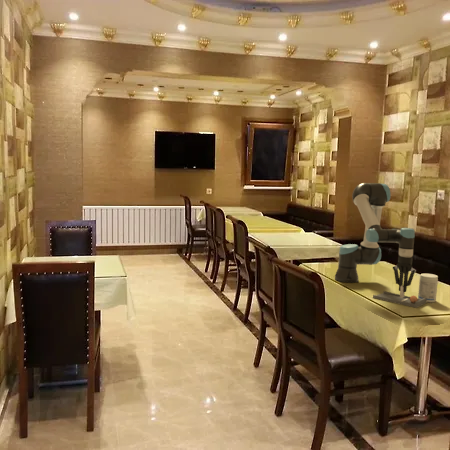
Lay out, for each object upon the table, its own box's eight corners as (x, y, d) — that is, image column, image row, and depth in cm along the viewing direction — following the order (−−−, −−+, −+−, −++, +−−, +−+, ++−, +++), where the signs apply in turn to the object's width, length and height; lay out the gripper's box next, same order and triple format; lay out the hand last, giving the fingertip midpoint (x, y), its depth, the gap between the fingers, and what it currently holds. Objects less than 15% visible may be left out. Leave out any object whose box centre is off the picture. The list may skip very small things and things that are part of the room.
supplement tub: (421, 297, 279) (423, 272, 277) (438, 300, 272) (440, 275, 270) (415, 300, 272) (417, 274, 270) (432, 303, 265) (434, 278, 263)
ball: (412, 294, 262) (416, 301, 260) (415, 293, 265) (420, 299, 263) (406, 298, 265) (411, 304, 263) (410, 297, 267) (414, 303, 266)
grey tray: (372, 297, 273) (373, 292, 273) (383, 293, 283) (383, 288, 283) (416, 307, 256) (416, 302, 256) (426, 303, 266) (426, 297, 266)
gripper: (391, 254, 267) (387, 295, 270) (414, 258, 258) (410, 300, 261) (397, 253, 273) (393, 293, 276) (419, 257, 264) (416, 298, 267)
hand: (401, 297), depth 268 cm, fingers closed
